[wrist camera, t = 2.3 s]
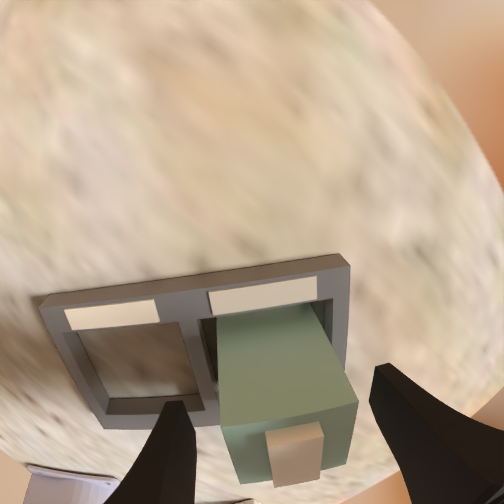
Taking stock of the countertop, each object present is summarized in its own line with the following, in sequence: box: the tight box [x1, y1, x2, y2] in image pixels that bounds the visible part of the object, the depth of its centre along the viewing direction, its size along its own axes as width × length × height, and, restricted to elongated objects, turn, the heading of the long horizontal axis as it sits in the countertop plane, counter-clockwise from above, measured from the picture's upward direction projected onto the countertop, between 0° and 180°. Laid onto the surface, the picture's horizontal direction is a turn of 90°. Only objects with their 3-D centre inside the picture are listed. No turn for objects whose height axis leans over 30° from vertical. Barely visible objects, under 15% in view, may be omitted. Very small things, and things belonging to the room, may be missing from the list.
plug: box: [217, 302, 359, 488], centre depth 11 cm, size 4×4×7 cm
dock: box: [38, 254, 350, 430], centre depth 14 cm, size 13×8×1 cm, turn 96°
